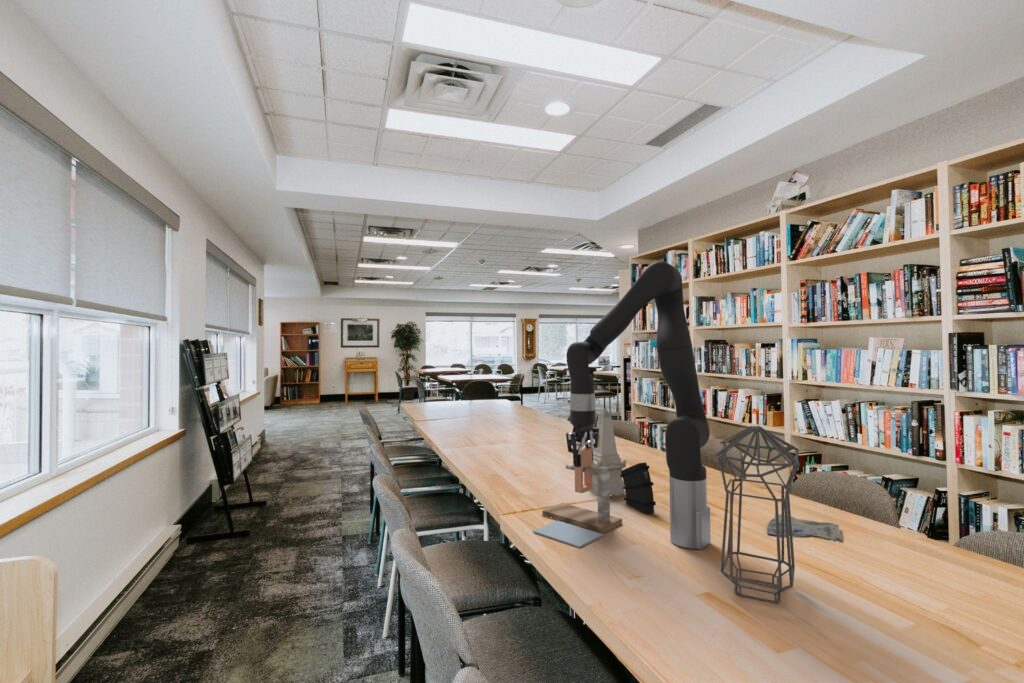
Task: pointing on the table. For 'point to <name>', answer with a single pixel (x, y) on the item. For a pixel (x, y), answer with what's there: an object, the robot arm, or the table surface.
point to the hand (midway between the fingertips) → (583, 464)
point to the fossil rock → (807, 529)
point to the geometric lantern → (784, 502)
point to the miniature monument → (608, 455)
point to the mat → (568, 533)
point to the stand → (589, 518)
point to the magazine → (638, 488)
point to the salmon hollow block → (585, 462)
